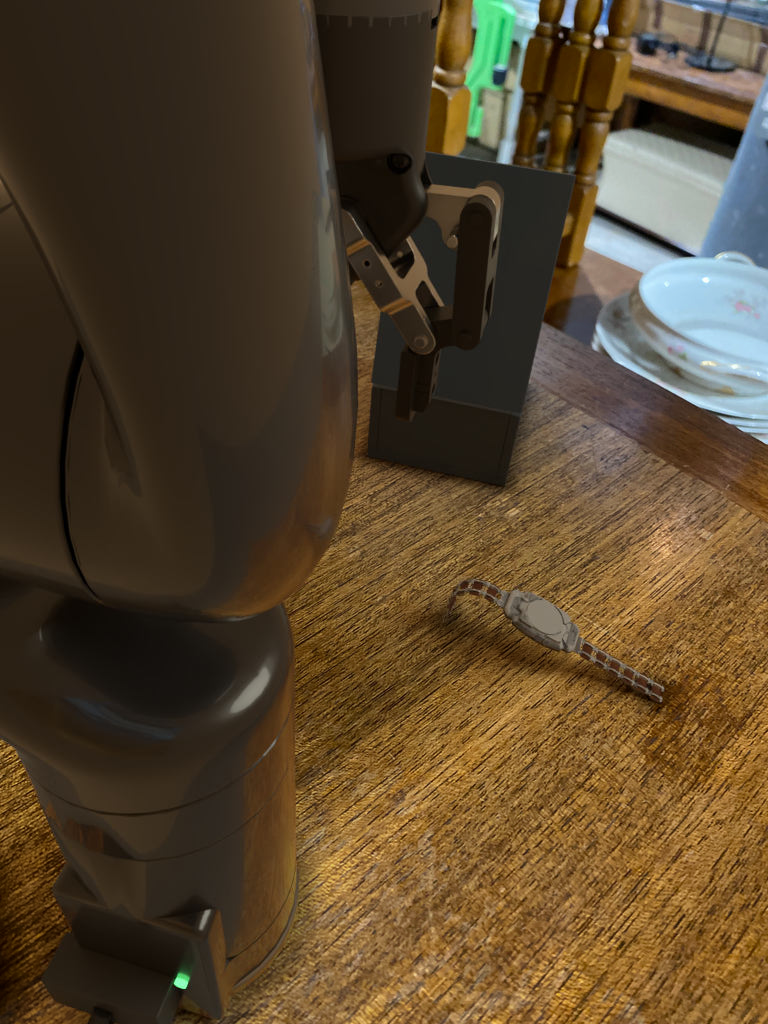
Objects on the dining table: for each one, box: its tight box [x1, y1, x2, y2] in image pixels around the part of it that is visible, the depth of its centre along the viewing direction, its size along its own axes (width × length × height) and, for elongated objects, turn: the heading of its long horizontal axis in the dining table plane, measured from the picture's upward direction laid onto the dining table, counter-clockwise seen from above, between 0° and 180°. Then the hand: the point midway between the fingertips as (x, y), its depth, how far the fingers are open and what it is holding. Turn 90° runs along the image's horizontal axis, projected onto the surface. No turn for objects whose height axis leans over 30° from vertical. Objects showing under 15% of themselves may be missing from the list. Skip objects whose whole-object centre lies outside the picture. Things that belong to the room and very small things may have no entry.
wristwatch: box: [442, 578, 665, 704], centre depth 50 cm, size 4×14×5 cm, turn 67°
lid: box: [370, 150, 577, 415], centre depth 55 cm, size 16×12×1 cm
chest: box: [366, 325, 543, 487], centre depth 67 cm, size 16×12×7 cm
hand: (321, 391), depth 37 cm, fingers open, 8 cm apart
